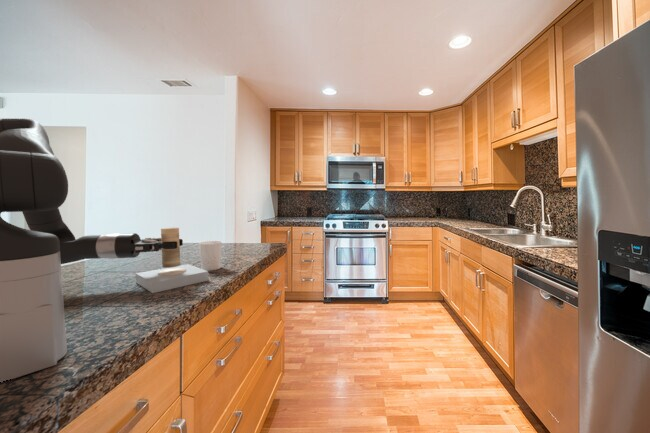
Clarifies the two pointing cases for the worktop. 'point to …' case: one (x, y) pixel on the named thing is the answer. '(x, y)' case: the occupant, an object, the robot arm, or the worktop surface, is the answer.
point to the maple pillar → (170, 255)
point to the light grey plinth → (171, 277)
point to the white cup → (210, 255)
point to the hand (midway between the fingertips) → (179, 243)
